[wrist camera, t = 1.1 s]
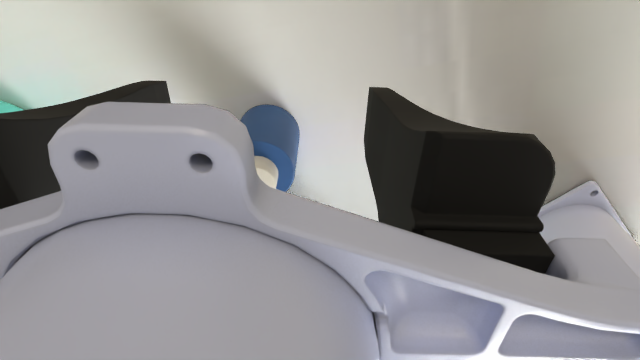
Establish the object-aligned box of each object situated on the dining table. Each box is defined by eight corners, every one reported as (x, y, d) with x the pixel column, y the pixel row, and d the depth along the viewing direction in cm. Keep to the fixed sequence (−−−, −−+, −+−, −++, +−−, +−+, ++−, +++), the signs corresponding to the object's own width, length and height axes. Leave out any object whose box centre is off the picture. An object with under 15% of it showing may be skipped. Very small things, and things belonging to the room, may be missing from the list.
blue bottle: (312, 133, 25) (308, 186, 20) (271, 167, 27) (259, 224, 22) (266, 91, 23) (251, 137, 18) (226, 131, 25) (202, 183, 20)
